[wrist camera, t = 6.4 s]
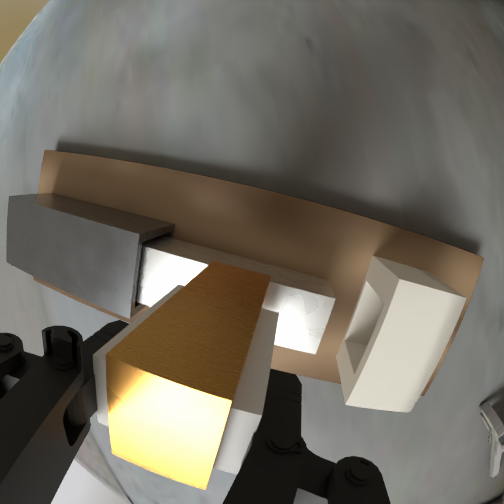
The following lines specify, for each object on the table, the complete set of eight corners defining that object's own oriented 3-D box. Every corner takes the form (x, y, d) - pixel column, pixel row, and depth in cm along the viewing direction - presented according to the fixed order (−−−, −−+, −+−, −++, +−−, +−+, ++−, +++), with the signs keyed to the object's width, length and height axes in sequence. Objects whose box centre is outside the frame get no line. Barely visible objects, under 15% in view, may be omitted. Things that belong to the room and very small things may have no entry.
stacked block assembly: (49, 200, 20) (-90, 221, 7) (330, 275, 18) (383, 429, 5) (45, 247, 21) (-84, 289, 8) (311, 332, 19) (319, 511, 6)
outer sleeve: (52, 192, 21) (9, 196, 16) (175, 223, 20) (139, 234, 15) (47, 249, 22) (6, 261, 17) (163, 292, 21) (129, 318, 16)
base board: (55, 150, 22) (44, 149, 20) (474, 253, 19) (484, 257, 17) (43, 275, 24) (33, 279, 23) (418, 386, 21) (423, 395, 20)
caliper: (476, 403, 21) (501, 440, 15) (485, 397, 21) (510, 433, 15) (489, 474, 23) (502, 502, 17) (495, 470, 22) (509, 497, 16)
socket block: (372, 255, 18) (399, 279, 13) (428, 271, 18) (466, 297, 13) (335, 356, 20) (345, 404, 15) (389, 367, 20) (409, 412, 14)
